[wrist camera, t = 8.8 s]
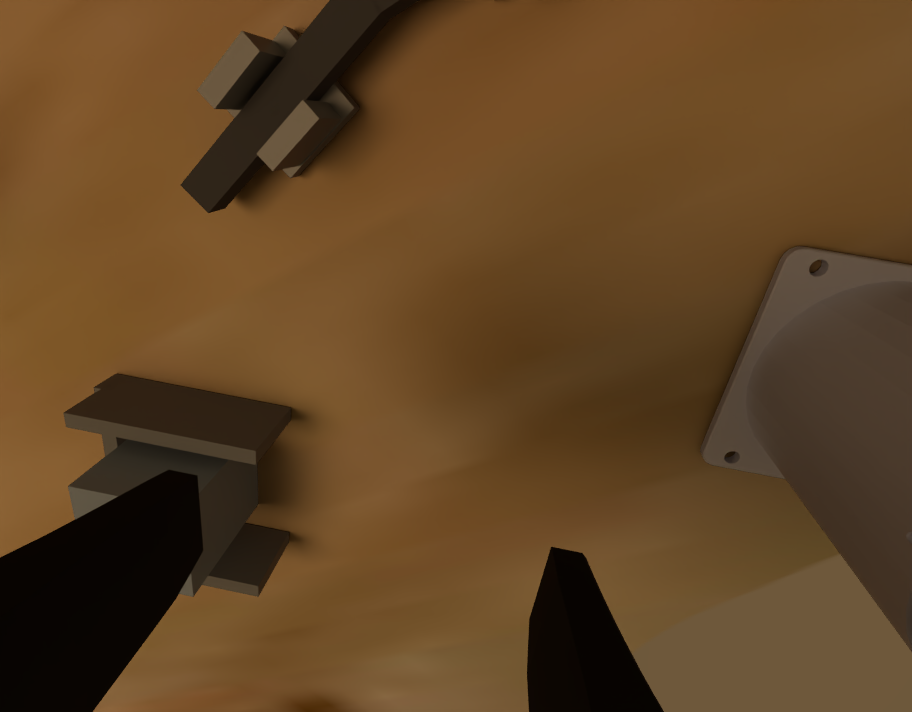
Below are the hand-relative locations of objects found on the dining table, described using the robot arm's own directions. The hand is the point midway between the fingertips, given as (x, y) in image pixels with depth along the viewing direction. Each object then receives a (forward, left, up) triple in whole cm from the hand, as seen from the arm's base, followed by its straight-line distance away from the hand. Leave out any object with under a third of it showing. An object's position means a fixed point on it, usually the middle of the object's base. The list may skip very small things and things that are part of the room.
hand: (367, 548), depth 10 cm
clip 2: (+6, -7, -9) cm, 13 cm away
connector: (+9, +7, -10) cm, 15 cm away
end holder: (+9, +7, -9) cm, 15 cm away
